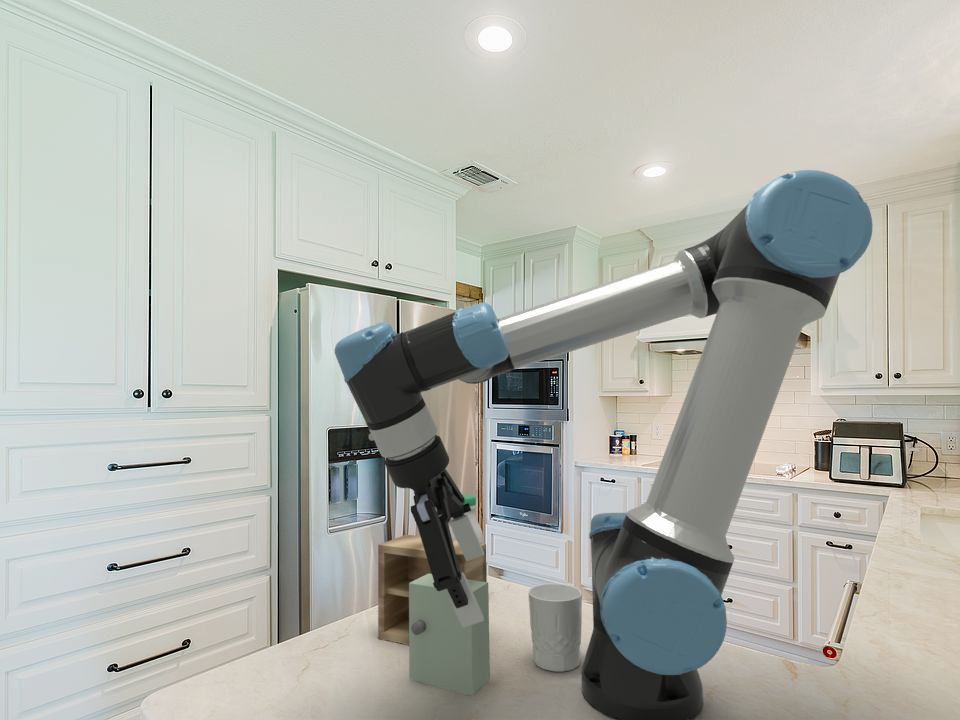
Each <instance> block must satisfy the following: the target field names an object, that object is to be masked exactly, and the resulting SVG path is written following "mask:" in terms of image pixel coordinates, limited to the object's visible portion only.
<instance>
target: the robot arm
mask: <svg viewBox="0 0 960 720" xmlns="http://www.w3.org/2000/svg"><path fill="white" fill-rule="evenodd" d="M872 234H873V218H872V213H871V210H870V208H869V205H868V204H867V201H866V202H865V201H864V199H863V198H862V196H861V195H860V192H859V191H858V189H857V188H855V186H854V185H852V184H851V183H849V182H848V181H846V180H845V179H843V178H842V177H840V176H837V175H835V174H833V173H829V172H826V171H821V170H815V169H803V170H795V171H791V172H788V173H785V174H782V175H780V176H778V177H776V178H774V179H773V180H771V181H770V182H768V183H767V184H765V185H764V186H762V187H760V188H759V189H758V190H757V191H756V192H754V194H753V196H752V197H751V199H749V201H748V204H746V206H744V208H743V209H742V210H741V211H740V212H738V214H737V215H736V216H734V218H733V219H732V220H731V221H730V222H729V223H728V224H727V225H726V226H724V228H722V229H720V231H718V232H716V234H714V235H713V236H711V237H709V238H707V239H706V240H704V241H702V242H699V243H698V244H696V245H694V246H690V247H688V248H685V249H682V250H679V251H678V252H677V254H676V256H675V257H674V258H673V260H672V261H670V262H666V263H662V264H659V265H657V266H654V267H652V268H647V269H645V270H644V269H643V270H642V271H639V272H636V273H633V274H629V275H627V276H623V277H620V278H617V279H614V280H611V281H608V282H605V283H602V284H598V285H597V286H594V287H593V286H592V287H591V288H587V289H585V290H580V291H578V292H575V293H572V294H569V295H566V296H563V297H559V298H557V299H553V300H551V301H547V302H545V303H541V304H539V305H535V306H532V307H529V308H526V309H523V310H521V311H517V312H514V313H511V314H507V315H505V316H502V317H499V318H497V316H496V315H497V314H496V312H495V311H494V309H493V307H492V305H491V304H489V303H488V302H487V303H486V302H480V303H477V304H474V305H471V306H468V307H461V308H458V309H457V310H456V311H454V312H452V313H449V314H447V315H445V316H442V317H440V318H437V319H434V320H432V321H429V322H428V323H427V322H426V323H424V324H422V325H420V326H417V327H415V328H412V329H410V330H406V331H404V332H403V331H402V332H399V333H397V332H396V330H394V328H393V326H392V324H391V323H389V322H388V321H387V322H386V321H383V322H378V323H376V324H374V325H369V326H367V327H364V328H362V329H360V330H358V331H355V332H353V333H351V334H349V335H347V336H345V337H344V338H342V339H340V340H339V341H338V342H337V343H336V345H335V348H334V355H335V357H336V360H337V362H338V366H339V367H340V370H341V372H342V375H343V378H344V379H343V380H344V383H345V384H346V385H347V386H348V389H349V391H350V393H351V394H352V397H353V399H354V401H355V403H356V405H357V408H358V410H359V412H360V413H361V415H362V418H363V420H364V421H365V424H366V426H367V429H368V430H369V434H368V440H369V441H371V442H372V441H374V443H375V445H376V448H377V450H378V451H379V453H380V455H381V457H383V458H385V459H384V466H385V468H386V470H387V472H388V473H389V476H390V478H391V480H392V482H393V484H394V486H395V487H397V488H400V489H410V490H412V491H413V494H414V495H413V501H414V504H413V505H411V506H410V513H411V514H412V517H413V519H414V522H415V523H416V527H417V529H418V533H419V536H420V537H421V540H422V543H423V546H424V550H425V553H426V556H427V560H428V563H429V566H430V570H431V573H432V576H433V580H434V583H433V585H434V587H435V588H436V590H437V591H438V592H439V591H442V590H445V591H446V593H447V595H448V598H449V600H450V602H451V604H452V606H453V608H454V610H455V613H456V615H457V617H458V619H459V621H460V623H461V625H462V628H464V627H467V626H470V625H473V624H476V623H479V622H482V621H484V616H483V614H482V612H481V609H480V607H479V605H478V603H477V601H476V598H475V596H474V594H473V592H472V590H471V587H470V585H469V583H468V581H467V579H466V576H465V574H464V572H462V573H461V572H460V568H459V564H458V561H457V557H456V553H455V549H454V545H453V541H452V537H451V533H450V529H449V526H451V528H452V531H453V533H454V535H455V537H456V539H457V542H458V544H459V546H460V548H461V550H462V553H463V555H464V557H465V559H466V561H469V560H472V559H475V558H478V557H481V556H484V551H483V549H482V547H481V544H480V542H479V540H478V538H477V535H476V533H475V531H474V529H473V526H472V524H471V522H470V520H469V517H468V515H467V514H466V515H464V513H467V512H469V511H471V508H470V505H469V503H467V504H464V505H463V503H465V498H464V497H463V495H464V494H462V492H461V490H460V489H459V488H458V486H457V484H456V483H455V482H454V480H453V477H452V476H451V475H450V473H449V471H448V470H447V467H448V465H449V463H450V457H449V455H448V451H447V450H446V447H445V445H444V443H443V441H442V438H441V436H439V435H437V432H438V428H437V426H436V424H435V421H434V419H433V417H432V415H431V412H430V410H429V408H428V406H427V404H426V402H425V400H424V399H425V398H423V395H422V393H424V392H427V391H430V390H432V389H434V388H437V387H441V386H443V385H445V384H448V383H451V382H454V381H457V380H459V381H461V382H464V383H466V384H471V385H476V384H481V383H484V382H487V381H489V380H490V379H492V378H493V377H496V376H498V375H502V374H506V373H509V372H512V371H513V370H516V369H519V368H520V369H521V368H523V367H527V366H530V365H532V364H533V365H534V364H535V363H539V362H543V361H545V360H549V359H551V358H554V357H558V356H561V355H565V354H567V353H570V352H574V351H577V350H580V349H583V348H587V347H589V346H593V345H596V344H599V343H602V342H607V341H609V340H612V339H614V338H618V337H621V336H625V335H628V334H632V333H634V332H637V331H641V330H643V329H647V328H651V327H653V326H657V325H660V324H662V323H666V322H669V321H672V320H676V319H679V318H681V317H686V316H688V315H691V316H692V317H693V316H694V317H696V318H697V319H703V318H707V317H710V316H713V315H715V318H714V321H713V323H712V326H711V329H710V331H709V334H708V336H707V339H706V342H705V344H704V346H703V350H702V353H701V355H700V358H699V360H698V363H697V365H696V368H695V371H694V373H693V376H692V379H691V381H690V383H689V387H688V389H687V391H686V395H685V398H684V399H683V402H682V406H681V408H680V411H679V413H678V416H677V419H676V421H675V424H674V427H673V430H672V433H671V435H670V438H669V441H668V442H667V443H668V444H667V446H666V449H665V450H664V454H663V456H662V459H661V462H660V465H659V467H658V470H657V472H656V475H655V478H654V481H653V483H652V486H651V489H650V492H649V494H648V497H647V499H646V501H645V502H644V503H643V504H641V505H639V506H637V507H634V508H632V509H629V510H627V512H602V513H597V514H595V515H594V516H593V517H592V518H591V521H590V532H589V534H588V536H589V537H588V538H589V540H590V555H591V556H590V557H591V558H590V559H591V588H592V619H593V620H592V621H593V629H592V633H591V636H590V640H589V643H588V646H587V650H586V654H585V657H584V661H583V664H582V666H581V673H580V674H581V693H582V695H583V696H584V698H585V699H586V701H587V702H588V703H589V704H590V705H592V706H593V707H594V708H595V709H597V710H598V711H599V712H602V713H604V714H606V715H607V716H610V717H612V718H615V719H618V720H687V719H689V720H691V719H693V718H694V716H695V715H696V716H697V715H698V714H700V712H701V711H702V708H703V707H704V706H703V705H704V696H703V694H704V693H703V683H702V679H701V676H700V673H699V671H698V669H700V668H702V667H704V665H706V664H708V663H709V662H710V661H711V660H712V659H713V658H715V656H716V654H717V653H718V652H719V650H720V649H721V647H722V644H723V643H724V640H725V637H726V633H727V627H728V626H727V624H728V622H727V621H728V619H727V618H728V617H727V609H726V605H725V601H724V598H723V597H722V595H723V592H724V589H725V587H726V584H727V581H728V579H729V576H730V573H731V570H732V567H733V564H734V563H735V556H734V553H732V550H731V548H730V546H729V544H728V542H727V537H726V536H727V532H728V530H729V527H730V525H731V522H732V520H733V516H734V514H735V512H736V508H737V506H738V504H739V501H740V497H741V495H742V492H743V490H744V487H745V485H746V482H747V479H748V476H749V473H750V471H751V468H752V466H753V463H754V460H755V456H756V454H757V451H758V449H759V447H760V443H761V441H762V439H763V436H764V433H765V431H766V427H767V425H768V422H769V420H770V417H771V413H772V411H773V409H774V406H775V403H776V400H777V397H778V395H779V392H780V389H781V387H782V385H783V383H784V379H785V376H786V374H787V371H788V369H789V366H790V365H789V364H790V362H791V360H792V358H793V354H794V352H795V349H796V347H797V343H798V341H799V338H800V335H801V333H802V330H803V328H804V327H805V326H807V325H809V324H810V323H813V322H817V321H818V320H820V319H822V318H824V316H825V314H826V312H827V309H828V306H829V304H830V302H831V298H832V295H833V293H834V291H835V288H836V285H837V283H838V280H839V277H840V275H841V273H845V272H847V271H849V270H850V269H851V268H852V267H854V266H855V264H856V263H857V262H858V261H859V259H860V258H862V257H863V255H864V254H865V252H866V251H867V250H868V247H869V245H870V242H871V239H872ZM452 518H453V519H452ZM696 716H695V717H696ZM692 717H693V718H692ZM690 718H691V719H690Z"/></svg>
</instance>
